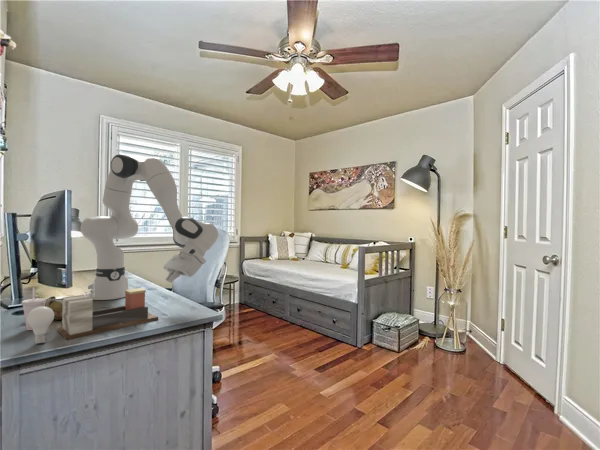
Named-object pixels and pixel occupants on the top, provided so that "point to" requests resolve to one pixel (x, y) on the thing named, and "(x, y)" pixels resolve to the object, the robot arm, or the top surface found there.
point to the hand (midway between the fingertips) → (168, 281)
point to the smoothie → (32, 306)
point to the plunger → (134, 298)
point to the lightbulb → (40, 322)
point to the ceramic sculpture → (55, 306)
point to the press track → (97, 317)
